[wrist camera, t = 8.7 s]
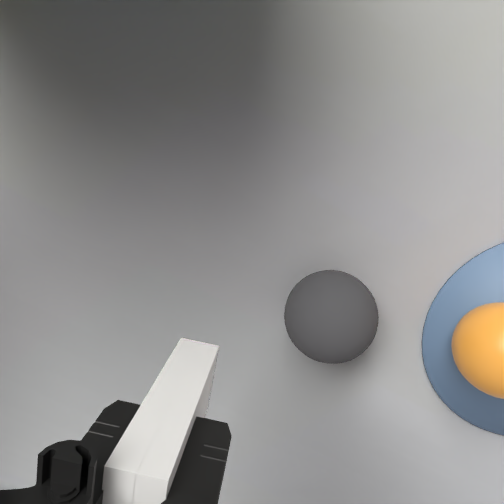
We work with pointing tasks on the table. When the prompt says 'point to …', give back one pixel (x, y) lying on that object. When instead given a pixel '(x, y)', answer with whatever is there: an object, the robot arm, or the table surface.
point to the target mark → (441, 331)
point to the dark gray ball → (331, 316)
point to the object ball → (481, 348)
